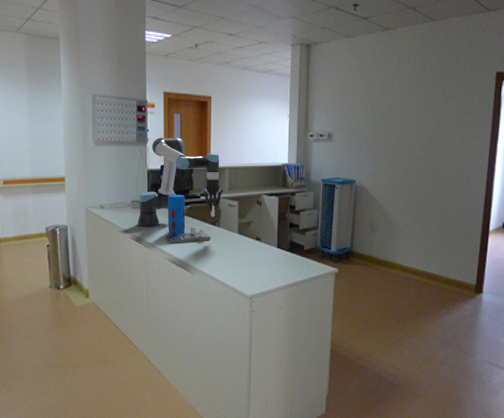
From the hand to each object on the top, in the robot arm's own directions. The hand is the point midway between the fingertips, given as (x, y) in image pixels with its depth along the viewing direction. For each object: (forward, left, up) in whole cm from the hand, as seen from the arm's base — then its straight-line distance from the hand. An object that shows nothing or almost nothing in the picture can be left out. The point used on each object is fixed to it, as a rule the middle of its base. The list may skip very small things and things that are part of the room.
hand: (212, 216), depth 254 cm
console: (-5, -15, -15) cm, 22 cm away
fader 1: (-9, -10, -13) cm, 19 cm away
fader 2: (0, -7, -13) cm, 15 cm away
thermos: (-24, -17, -15) cm, 33 cm away
